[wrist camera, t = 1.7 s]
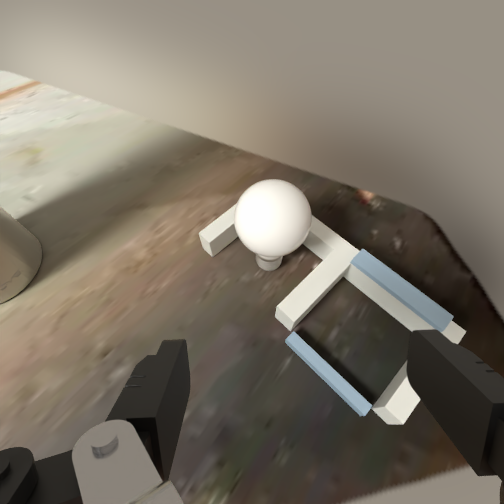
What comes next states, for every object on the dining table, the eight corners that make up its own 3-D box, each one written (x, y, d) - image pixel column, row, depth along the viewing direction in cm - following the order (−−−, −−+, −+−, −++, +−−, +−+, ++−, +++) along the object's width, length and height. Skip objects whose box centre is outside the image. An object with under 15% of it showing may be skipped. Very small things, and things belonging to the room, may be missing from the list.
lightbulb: (295, 235, 34) (312, 161, 24) (302, 289, 31) (324, 228, 21) (238, 236, 34) (231, 162, 24) (238, 291, 31) (231, 231, 21)
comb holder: (195, 254, 33) (188, 236, 30) (265, 197, 36) (266, 176, 33) (380, 435, 25) (398, 436, 22) (447, 339, 28) (471, 329, 25)
